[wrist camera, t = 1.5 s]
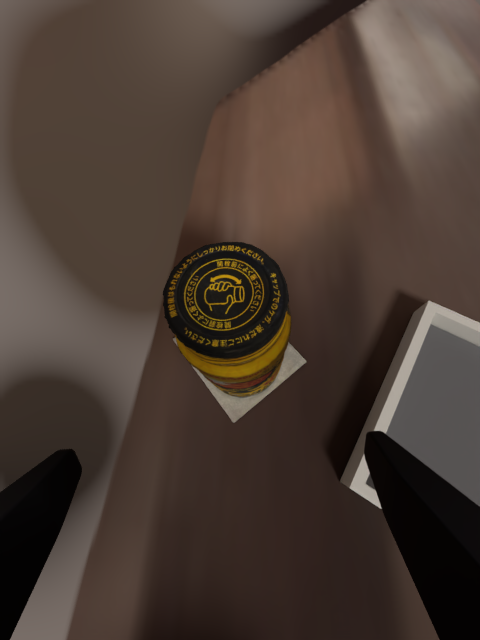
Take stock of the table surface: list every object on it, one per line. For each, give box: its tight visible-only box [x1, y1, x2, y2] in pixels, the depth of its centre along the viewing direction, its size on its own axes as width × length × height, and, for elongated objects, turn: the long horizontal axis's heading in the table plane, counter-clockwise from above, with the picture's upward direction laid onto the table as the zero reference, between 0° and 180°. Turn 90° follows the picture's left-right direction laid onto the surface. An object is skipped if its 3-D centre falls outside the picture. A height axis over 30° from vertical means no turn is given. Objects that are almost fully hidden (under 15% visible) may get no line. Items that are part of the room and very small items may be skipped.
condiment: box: [163, 242, 307, 423], centre depth 17 cm, size 7×8×12 cm
